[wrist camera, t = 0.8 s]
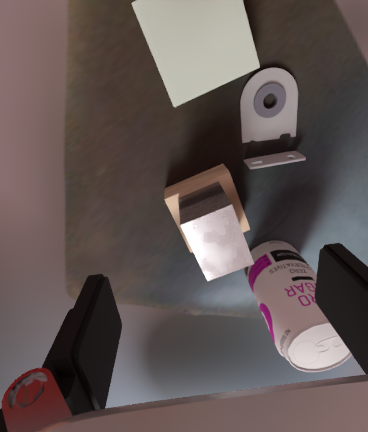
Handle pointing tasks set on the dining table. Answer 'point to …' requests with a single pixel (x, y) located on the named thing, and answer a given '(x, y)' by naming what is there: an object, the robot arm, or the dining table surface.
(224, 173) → the stand
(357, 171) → the dining table surface
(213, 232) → the block
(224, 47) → the stand
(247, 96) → the bracket
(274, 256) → the supplement can
